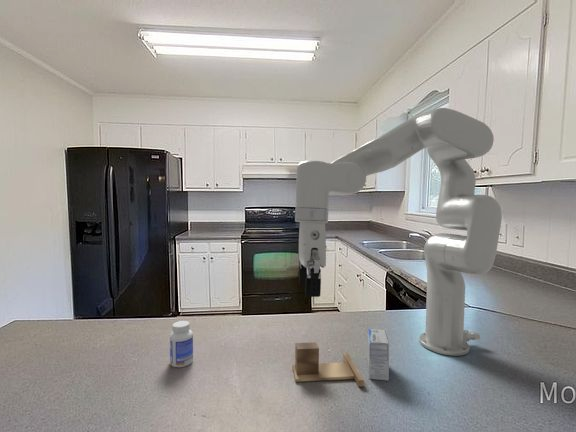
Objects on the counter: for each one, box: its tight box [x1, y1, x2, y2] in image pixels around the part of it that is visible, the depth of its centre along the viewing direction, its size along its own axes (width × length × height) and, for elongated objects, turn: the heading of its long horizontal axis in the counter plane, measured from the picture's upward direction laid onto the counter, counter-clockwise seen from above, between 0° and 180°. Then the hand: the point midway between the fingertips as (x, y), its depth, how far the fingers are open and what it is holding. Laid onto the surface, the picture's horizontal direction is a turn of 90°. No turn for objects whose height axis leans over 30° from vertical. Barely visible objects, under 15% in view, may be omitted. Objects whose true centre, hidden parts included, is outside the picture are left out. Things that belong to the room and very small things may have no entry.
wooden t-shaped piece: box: [292, 341, 365, 388], centre depth 71 cm, size 15×12×7 cm
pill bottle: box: [169, 320, 194, 368], centre depth 75 cm, size 5×5×10 cm
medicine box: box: [366, 328, 390, 382], centre depth 72 cm, size 8×4×9 cm, turn 168°
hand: (308, 290), depth 70 cm, fingers open, 9 cm apart
